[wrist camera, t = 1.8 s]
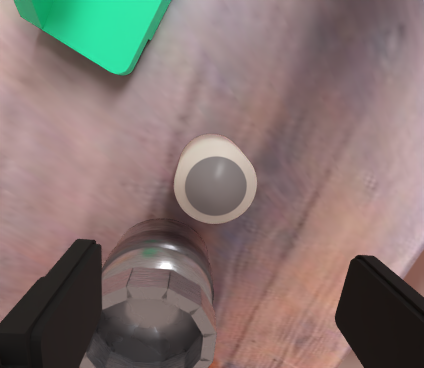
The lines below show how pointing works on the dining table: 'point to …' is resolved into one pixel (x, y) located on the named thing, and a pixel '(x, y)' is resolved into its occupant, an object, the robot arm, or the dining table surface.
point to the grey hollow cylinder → (155, 301)
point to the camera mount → (99, 27)
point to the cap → (214, 180)
